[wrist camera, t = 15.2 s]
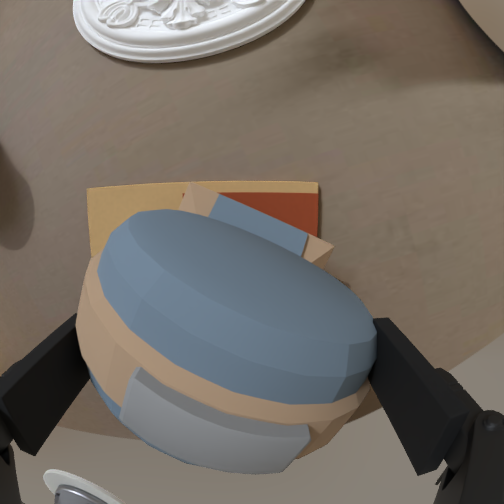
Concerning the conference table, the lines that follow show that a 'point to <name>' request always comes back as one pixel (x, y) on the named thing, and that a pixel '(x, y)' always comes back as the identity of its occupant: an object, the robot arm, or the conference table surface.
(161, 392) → the alarm clock
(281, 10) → the ceiling medallion
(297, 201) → the mat
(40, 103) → the conference table surface
